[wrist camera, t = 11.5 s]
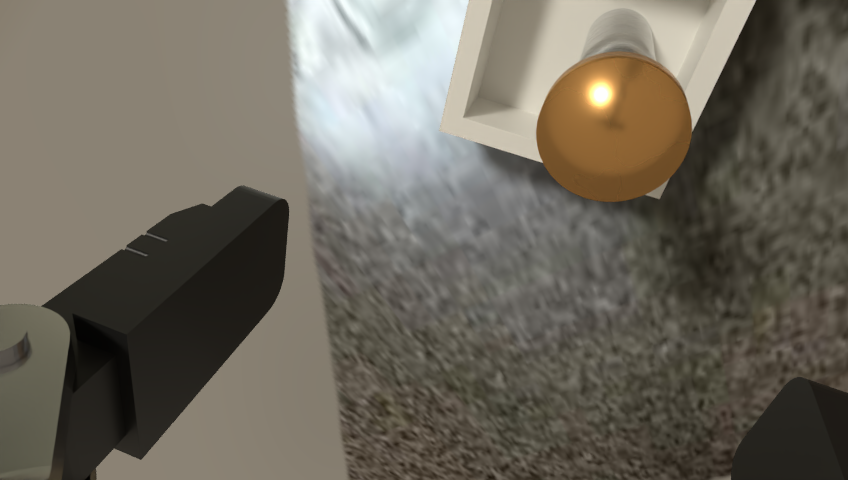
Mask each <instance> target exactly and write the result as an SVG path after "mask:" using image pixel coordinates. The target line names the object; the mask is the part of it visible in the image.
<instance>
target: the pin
mask: <svg viewBox="0 0 848 480" xmlns="http://www.w3.org/2000/svg"><path fill="white" fill-rule="evenodd" d="M691 135H692V119H691V114H690V109H689V105H688V101H687V98H686V95H685V93H684V90H683V88H682V86H681V85H680V83H679V81H678V80H677V79H676V77H675V76H674V75H673V74H672V73H671V72H670V71H669V70H668V69H667V68H666V67H664V66H663V65H662V64H660V63H659V62H657V61H656V58H655V51H654V44H653V37H652V31H651V28H650V25H649V23H648V21H647V20H646V19H645V18H644V17H643V16H642V15H641V14H640V13H638V12H636V11H634V10H631V9H627V8H618V9H613V10H610V11H608V12H606V13H604V14H602V15H601V16H600V17H598V18H597V19H596V20H595V21H594V23H593V24H592V26H591V27H590V29H589V32H588V34H587V38H586V41H585V44H584V48H583V51H582V54H581V58H580V61H579V62H578V63H576V64H574V65H573V66H571V67H570V68H569V69H568V70H566V71H565V72H564V73H563V74H562V75H561V76H560V77H559V78H558V79H557V80H556V82H555V83H554V84H553V86H552V87H551V89H550V90H549V92H548V94H547V96H546V98H545V101H544V103H543V106H542V108H541V111H540V113H539V117H538V121H537V128H536V141H537V147H538V151H539V154H540V157H541V160H542V162H543V164H544V166H545V167H546V169H547V170H548V172H549V173H550V175H551V176H552V177H553V178H554V179H555V180H556V181H557V182H558V183H559V184H560V185H561V186H563V187H564V188H566V189H567V190H569V191H571V192H572V193H574V194H576V195H579V196H581V197H584V198H587V199H591V200H595V201H603V202H617V201H625V200H630V199H634V198H637V197H640V196H643V195H645V194H647V193H649V192H651V191H653V190H655V189H656V188H658V187H660V186H661V185H662V184H663V183H665V182H666V181H667V180H668V179H669V178H670V177H671V176H672V175H673V174H674V173H675V172H676V170H677V169H678V168H679V166H680V165H681V163H682V162H683V160H684V158H685V156H686V154H687V151H688V149H689V145H690V141H691Z"/></svg>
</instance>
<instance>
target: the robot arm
mask: <svg viewBox="0 0 848 480" xmlns="http://www.w3.org/2000/svg"><path fill="white" fill-rule="evenodd" d="M288 220H289V206H288V203H287V201H286V200H285V199H282V198H278V197H276V196H273V195H270V194H267V193H264V192H261V191H258V190H255V189H252V188H249V187H246V186H239V187H237V188H235V189H234V190H233V191H232V192H230V193H229V194H227V195H226V196H225V197H223V198H222V199H221V200H219V201H218V202H217V203H216V204H214V205H213V206H212V207H211V206H208V205H205V204H200V205H197V206H194V207H191V208H188V209H185V210H182V211H179V212H176V213H173V214H170V215H169V216H167V217H166V218H165V219H163V220H162V221H161V222H159V223H158V224H156V225H155V226H153V227H152V228H150V229H149V230H148V231H147V233H146V235H145V236H144V235H141V236H139V237H138V238H137V239H135V240H134V241H132V242H131V243H129V244H128V245H127V247H126V249H125V250H120V251H118V252H117V253H115V254H114V255H113V256H111V257H110V258H108V259H107V260H106V261H104V262H103V263H101V264H100V265H99V266H97V267H96V268H94V269H93V270H92V271H90V272H89V273H88V274H86V275H85V276H83V277H82V278H80V279H79V280H78V281H76V282H75V283H73V284H72V285H70V286H69V287H68V288H66V289H65V290H63V291H62V292H61V293H59V294H58V295H57V296H55V297H54V298H52V299H51V300H49V301H48V302H47V303H45V304H44V305H42V306H35V305H28V304H8V305H0V480H96V479H97V478H96V467H97V466H98V465H99V464H100V463H101V462H102V460H103V459H104V458H105V457H106V456H107V455H108V454H109V453H110V452H111V451H112V450H113V449H114V448H115V449H117V450H119V451H122V452H124V453H127V454H129V455H131V456H133V457H136V458H138V459H140V460H141V459H142V458H143V457H144V456H145V455H146V454H147V452H148V451H149V450H150V449H151V447H153V445H154V444H155V443H156V442H157V441H158V440H159V438H160V437H161V436H162V435H163V434H164V433H165V431H166V430H167V429H168V428H169V427H170V425H171V424H172V423H173V422H174V421H175V420H176V419H177V417H178V416H179V415H180V414H181V413H182V412H183V410H184V409H185V408H186V407H187V406H188V404H189V403H190V402H191V401H192V400H193V399H194V397H195V396H196V395H197V394H198V393H199V392H200V390H201V389H202V388H203V387H204V385H205V384H206V383H207V382H208V381H209V380H210V379H211V378H212V376H213V375H214V374H215V373H216V372H217V371H218V369H219V368H220V367H221V366H222V365H223V363H224V362H225V361H226V360H227V359H228V358H229V357H230V355H231V354H232V353H233V352H234V351H235V349H236V348H237V347H238V346H239V344H240V343H241V342H242V341H243V340H244V339H245V338H246V337H247V335H248V334H249V333H250V332H251V331H252V330H253V328H254V327H255V326H256V325H257V324H258V323H259V321H260V320H261V319H262V318H263V317H264V316H265V314H266V313H267V312H268V311H269V310H270V308H271V307H272V305H273V304H274V302H275V300H276V298H277V296H278V294H279V292H280V289H281V286H282V282H283V278H284V270H285V256H286V245H287V232H288ZM731 480H848V393H846V392H843V391H840V390H837V389H834V388H831V387H829V386H826V385H823V384H820V383H817V382H814V381H811V380H808V379H805V378H802V377H797V378H794V379H792V380H790V381H789V382H788V383H787V384H786V385H785V386H784V387H783V389H782V390H781V391H780V392H779V394H778V395H777V396H776V398H775V399H774V400H773V401H772V403H771V404H770V405H769V407H768V408H767V409H766V410H765V412H764V413H763V414H762V415H761V417H760V418H759V419H758V421H757V422H756V423H755V424H754V426H753V427H752V428H751V430H750V431H749V432H748V433H747V435H746V436H745V437H744V438H743V440H742V441H741V443H740V444H739V446H738V448H737V451H736V453H735V456H734V460H733V464H732V471H731Z"/></svg>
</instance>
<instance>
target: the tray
mask: <svg viewBox="0 0 848 480" xmlns="http://www.w3.org/2000/svg"><path fill="white" fill-rule="evenodd" d="M755 2H756V0H469V3H468V7H467V12H466V16H465V20H464V25H463V29H462V33H461V38H460V42H459V47H458V51H457V55H456V60H455V64H454V68H453V73H452V77H451V82H450V86H449V90H448V95H447V99H446V103H445V108H444V112H443V117H442V121H441V125H440V130H439V131H442V132H445V133H448V134H452V135H455V136H458V137H461V138H464V139H468V140H471V141H474V142H477V143H480V144H484V145H487V146H490V147H493V148H497V149H500V150H503V151H506V152H509V153H513V154H516V155H519V156H522V157H525V158H529V159H532V160H535V161H538V162H542V160H541V157H540V154H539V151H538V147H537V141H536V128H537V121H538V117H539V113H540V111H541V108H542V106H543V103H544V101H545V98H546V96H547V94H548V92H549V90H550V89H551V87H552V86H553V84H554V83H555V82H556V80H557V79H558V78H559V77H560V76H561V75H562V74H563V73H564V72H565V71H566V70H568V69H569V68H570V67H571V66H573V65H574V64H576V63H578V62H579V61H580V58H581V54H582V51H583V48H584V44H585V41H586V38H587V34H588V32H589V29H590V27H591V26H592V24H593V23H594V21H595V20H596V19H597V18H598V17H600V16H601V15H602V14H604V13H606V12H608V11H610V10H613V9H618V8H627V9H631V10H634V11H636V12H638V13H640V14H641V15H642V16H643V17H644V18H645V19H646V20H647V21H648V23H649V25H650V28H651V31H652V37H653V44H654V51H655V58H656V61H657V62H659V63H660V64H662V65H663V66H664V67H666V68H667V69H668V70H669V71H670V72H671V73H672V74H673V75H674V76H675V77H676V79H677V80H678V81H679V83H680V85H681V86H682V88H683V90H684V93H685V95H686V98H687V101H688V105H689V109H690V114H691V119H692V131H693V129H694V127H695V125H696V123H697V121H698V119H699V117H700V115H701V113H702V111H703V109H704V107H705V105H706V102H707V100H708V98H709V96H710V94H711V92H712V90H713V88H714V86H715V84H716V82H717V80H718V78H719V76H720V74H721V72H722V70H723V67H724V65H725V63H726V61H727V59H728V57H729V55H730V53H731V51H732V49H733V47H734V45H735V43H736V41H737V39H738V37H739V35H740V32H741V30H742V28H743V26H744V24H745V22H746V20H747V18H748V16H749V14H750V12H751V10H752V8H753V6H754V4H755ZM542 163H543V162H542ZM669 179H670V178H669ZM669 179H668V180H667V181H666V182H665V183H663V184H662V185H661V186H660V187H658V188H656V189H655V190H653V191H651V192H649V193H647V194H645V195H648V196H651V197H654V198H657V199H660V197H661V195H662V193H663V191H664V189H665V187H666V185H667V183H668V181H669Z"/></svg>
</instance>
